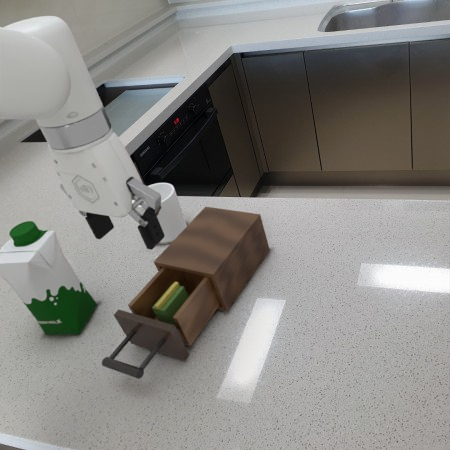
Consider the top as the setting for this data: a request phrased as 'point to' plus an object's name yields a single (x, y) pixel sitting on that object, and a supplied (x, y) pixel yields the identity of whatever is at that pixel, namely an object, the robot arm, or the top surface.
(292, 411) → the top surface
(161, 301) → the green sponge
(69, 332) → the milk carton
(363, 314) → the top surface
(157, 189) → the mug
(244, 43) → the top surface
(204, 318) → the drawer
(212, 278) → the cabinet
